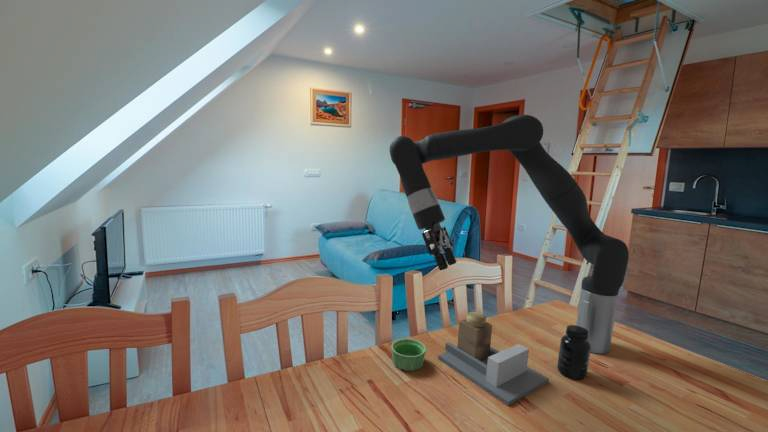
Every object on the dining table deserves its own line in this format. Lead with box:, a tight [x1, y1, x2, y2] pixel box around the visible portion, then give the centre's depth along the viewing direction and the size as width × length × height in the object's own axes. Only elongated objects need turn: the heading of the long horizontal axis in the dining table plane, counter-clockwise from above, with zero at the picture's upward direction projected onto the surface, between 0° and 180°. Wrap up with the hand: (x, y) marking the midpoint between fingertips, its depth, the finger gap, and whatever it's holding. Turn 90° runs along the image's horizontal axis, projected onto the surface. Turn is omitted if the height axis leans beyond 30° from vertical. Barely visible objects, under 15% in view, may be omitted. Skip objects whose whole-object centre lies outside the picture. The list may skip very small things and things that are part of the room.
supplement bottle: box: [556, 324, 591, 381], centre depth 92 cm, size 7×7×12 cm
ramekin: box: [391, 338, 427, 372], centre depth 94 cm, size 9×9×4 cm
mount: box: [437, 341, 550, 406], centre depth 93 cm, size 16×23×7 cm
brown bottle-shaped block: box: [457, 311, 493, 361], centre depth 96 cm, size 6×6×11 cm
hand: (448, 266), depth 93 cm, fingers open, 8 cm apart
